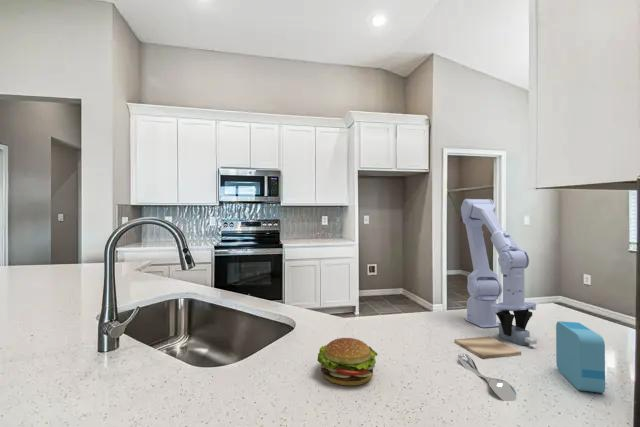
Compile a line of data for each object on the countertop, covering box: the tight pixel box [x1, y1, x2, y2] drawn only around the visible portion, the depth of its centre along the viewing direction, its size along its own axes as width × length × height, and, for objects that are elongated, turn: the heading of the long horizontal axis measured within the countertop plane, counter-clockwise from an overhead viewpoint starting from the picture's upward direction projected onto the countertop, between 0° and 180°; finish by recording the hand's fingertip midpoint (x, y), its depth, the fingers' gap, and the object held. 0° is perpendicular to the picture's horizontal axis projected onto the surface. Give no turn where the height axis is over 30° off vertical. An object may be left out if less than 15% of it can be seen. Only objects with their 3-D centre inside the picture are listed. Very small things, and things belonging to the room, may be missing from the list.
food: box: [316, 337, 378, 386], centre depth 79 cm, size 14×14×8 cm
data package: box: [555, 320, 606, 394], centre depth 75 cm, size 12×4×12 cm, turn 165°
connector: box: [498, 322, 537, 346], centre depth 100 cm, size 12×4×4 cm, turn 13°
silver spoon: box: [457, 352, 517, 402], centre depth 77 cm, size 20×4×5 cm
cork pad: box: [453, 336, 522, 360], centre depth 94 cm, size 12×12×1 cm
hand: (513, 334), depth 101 cm, fingers closed on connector, 4 cm apart
